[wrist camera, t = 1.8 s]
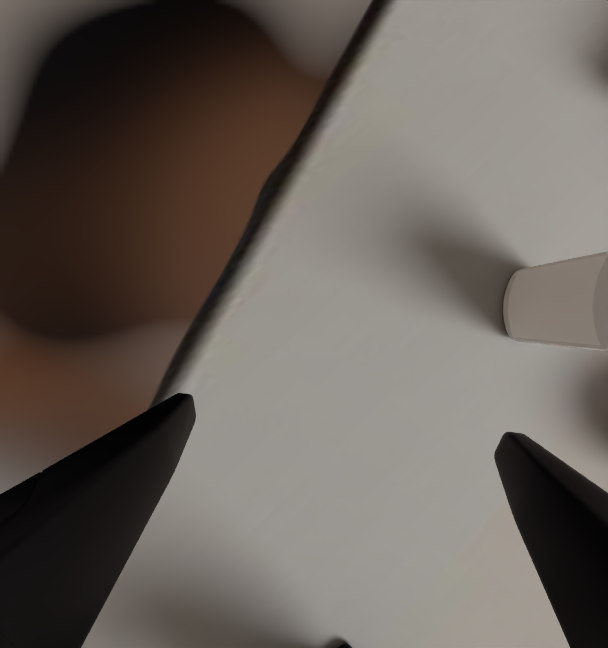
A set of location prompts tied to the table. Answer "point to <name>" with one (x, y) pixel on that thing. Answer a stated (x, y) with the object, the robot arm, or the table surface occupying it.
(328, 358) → the table surface
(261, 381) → the table surface
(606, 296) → the eye dropper bottle
